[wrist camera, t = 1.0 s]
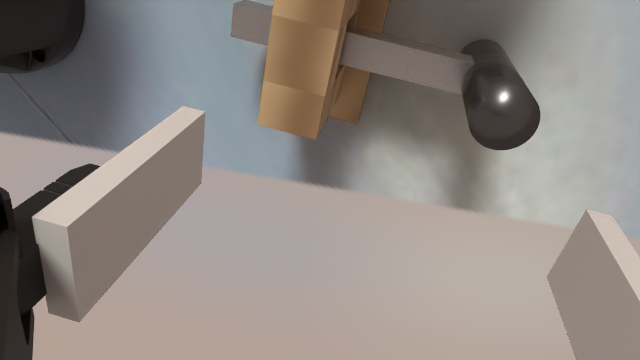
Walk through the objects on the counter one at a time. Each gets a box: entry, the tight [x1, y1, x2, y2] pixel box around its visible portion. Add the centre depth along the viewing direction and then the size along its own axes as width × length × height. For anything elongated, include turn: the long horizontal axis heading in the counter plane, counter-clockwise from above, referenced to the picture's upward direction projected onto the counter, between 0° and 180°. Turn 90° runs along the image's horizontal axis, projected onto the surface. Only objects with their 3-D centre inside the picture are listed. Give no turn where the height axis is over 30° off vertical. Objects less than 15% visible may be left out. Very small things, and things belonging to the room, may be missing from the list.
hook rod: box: [231, 0, 540, 150], centre depth 30 cm, size 20×4×12 cm, turn 78°
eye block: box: [257, 0, 390, 140], centre depth 32 cm, size 8×14×10 cm, turn 168°
